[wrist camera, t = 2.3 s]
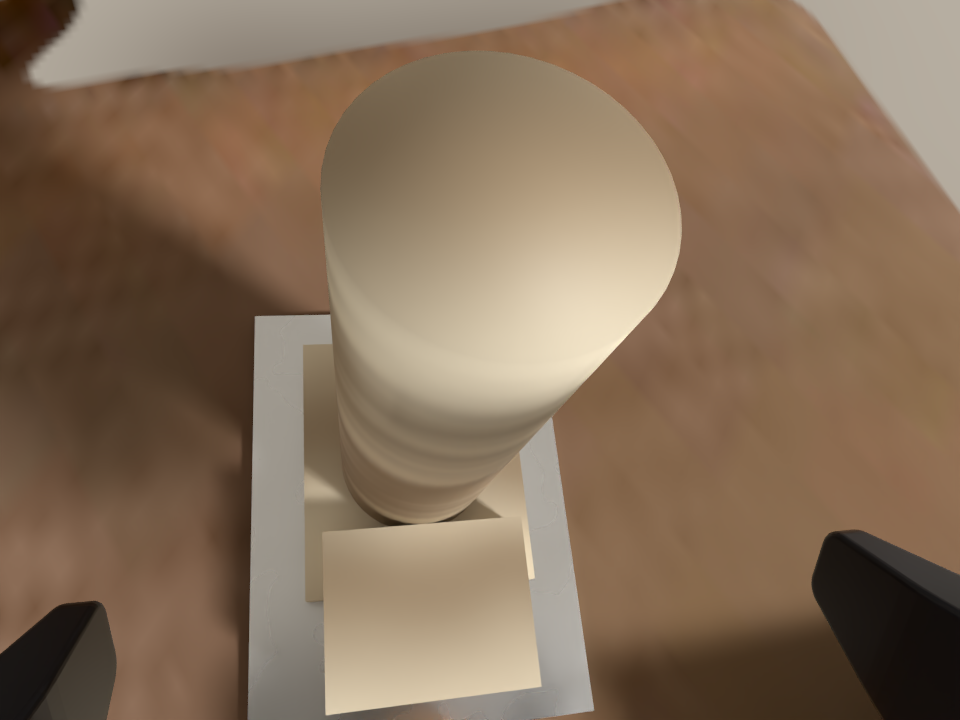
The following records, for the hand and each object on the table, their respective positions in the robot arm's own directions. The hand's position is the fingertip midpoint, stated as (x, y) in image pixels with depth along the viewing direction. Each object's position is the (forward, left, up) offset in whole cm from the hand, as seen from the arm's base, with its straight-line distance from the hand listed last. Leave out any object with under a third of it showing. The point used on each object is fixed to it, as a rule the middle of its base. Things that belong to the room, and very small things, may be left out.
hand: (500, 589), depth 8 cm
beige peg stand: (+2, +2, -11) cm, 11 cm away
